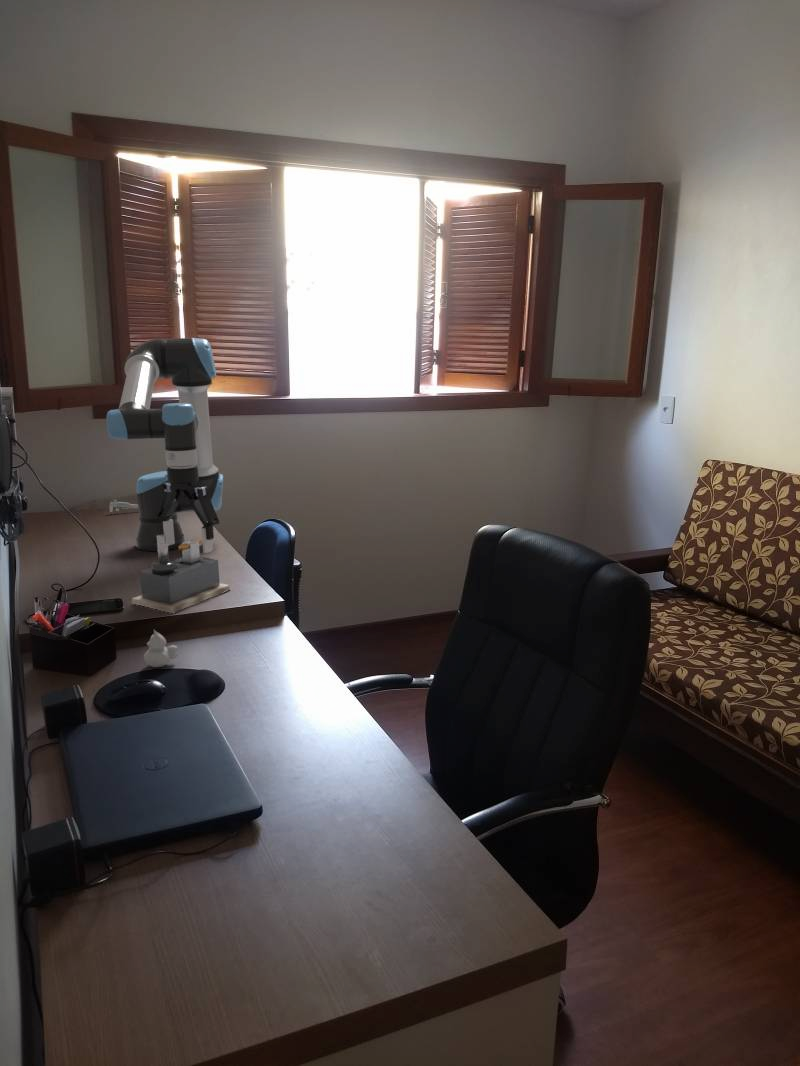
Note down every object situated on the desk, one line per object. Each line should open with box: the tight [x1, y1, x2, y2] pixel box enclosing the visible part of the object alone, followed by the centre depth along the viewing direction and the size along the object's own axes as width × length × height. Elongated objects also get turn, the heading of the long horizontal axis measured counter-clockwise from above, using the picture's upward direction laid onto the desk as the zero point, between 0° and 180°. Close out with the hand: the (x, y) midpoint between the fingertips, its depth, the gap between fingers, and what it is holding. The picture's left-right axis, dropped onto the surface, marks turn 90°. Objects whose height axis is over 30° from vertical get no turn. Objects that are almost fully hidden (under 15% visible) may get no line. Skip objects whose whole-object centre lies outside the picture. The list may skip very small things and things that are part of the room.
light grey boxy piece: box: [177, 539, 203, 566], centre depth 198 cm, size 7×3×10 cm, turn 150°
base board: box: [131, 582, 231, 614], centre depth 196 cm, size 20×14×2 cm
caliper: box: [109, 498, 139, 513], centre depth 293 cm, size 20×1×6 cm, turn 117°
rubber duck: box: [143, 629, 178, 668], centre depth 155 cm, size 5×7×8 cm
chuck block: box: [139, 534, 221, 605], centre depth 194 cm, size 17×10×16 cm, turn 150°
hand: (188, 548), depth 196 cm, fingers open, 13 cm apart
